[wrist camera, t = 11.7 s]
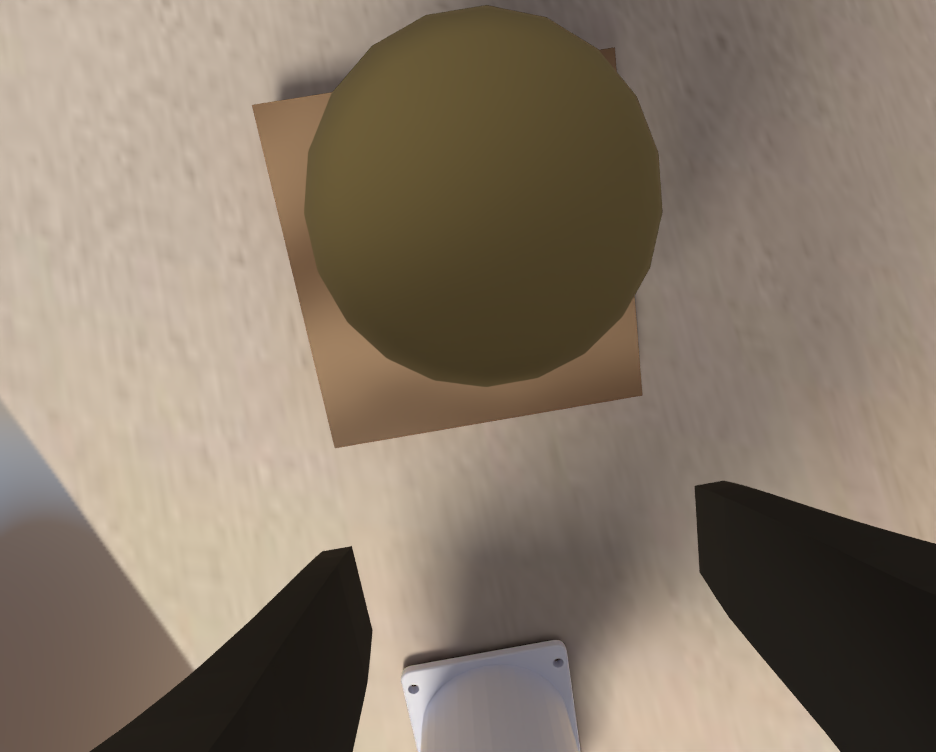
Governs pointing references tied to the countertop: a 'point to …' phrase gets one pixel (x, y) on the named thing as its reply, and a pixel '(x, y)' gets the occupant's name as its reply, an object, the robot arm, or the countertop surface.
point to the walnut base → (388, 383)
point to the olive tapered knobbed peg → (483, 196)
